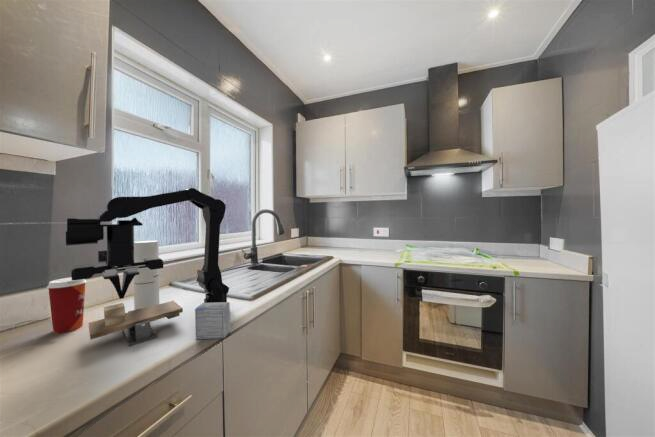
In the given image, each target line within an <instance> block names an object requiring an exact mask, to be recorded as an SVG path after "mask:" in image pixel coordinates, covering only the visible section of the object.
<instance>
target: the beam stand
mask: <svg viewBox="0 0 655 437" xmlns="http://www.w3.org/2000/svg"><path fill="white" fill-rule="evenodd" d="M137 310H139V309H137ZM132 311H136V310H134V309H133V310H129V311H128V312H132ZM128 312H127V313H128ZM122 333H123V335H124V337H125V340H126V343H127V345H128V346H129V347H133V346H136V345H140V344H142V343H146V342H148V341H151V340H154V339H157V338H158V334H157V331H155V329H154V328H153V326H152V325H151V322H150V321H149V320H148V321H144V322H140V323H136V324H135V327H131V328H128V329H125V330H122Z"/></svg>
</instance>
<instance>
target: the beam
mask: <svg viewBox="0 0 655 437" xmlns="http://www.w3.org/2000/svg"><path fill="white" fill-rule="evenodd" d="M131 311H132V310H131ZM183 311H184V310H183V307H181V306H180V305H179V304H178V303H177V302H175V301H174V300H171V301H166V302H164V303H159V304H158V305H155V306H151V307H147V308H143V309H139V310H136V311H132V312H125V321H123V322H119V323H115V324H112V325H108V326H105V319H104V318H102V319H97V320H94V321H91V322H88V332H89V338H90V341H91V340H94V339H98V338H101V337H104V336H107V335H111V334H114V333H117V332H118V333H119V332H121V331H123V330H125V329H128V328H131V327H135V324H136V323H140V322H144V321H148V320H149V321H150V323H151V322H154V321H158V320H161V319H165V318H167V319H168V320H171V319H173V318H177V317H179V316H180V314H181V313H183Z"/></svg>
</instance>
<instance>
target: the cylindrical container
mask: <svg viewBox="0 0 655 437" xmlns="http://www.w3.org/2000/svg"><path fill="white" fill-rule="evenodd" d="M159 254H160V253H159V240H144V241H143V240H141V241H140V240H139V241H134V263H135V262H143V261H144V259H146V258H156V257H158V258H160V257H159V256H160V255H159ZM138 272H139V274H138V275H135V276H134V278H133V306H134V308H133V310H137V309H143V308H147V307H151V306H155V305H158V304H160V269H153V270H151V269H149V268H148V267H146V268H139V270H138Z"/></svg>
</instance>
